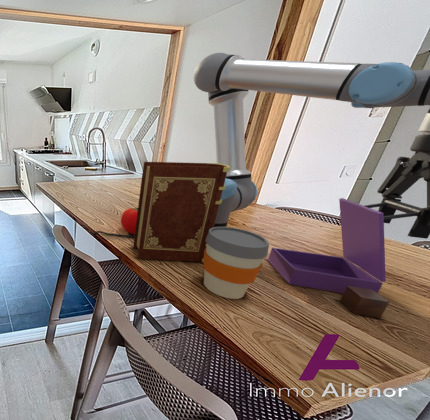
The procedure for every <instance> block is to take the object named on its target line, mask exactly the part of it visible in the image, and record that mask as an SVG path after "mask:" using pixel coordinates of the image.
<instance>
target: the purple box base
mask: <svg viewBox="0 0 430 420" xmlns="http://www.w3.org/2000/svg"><path fill="white" fill-rule="evenodd" d="M267 261H268V262H269V263H270V265H271V266H272V267H273V268H274V269H275V270H276V271H277V272H278V273H279V274H280V276H281V277H282V278H283V279H284V280H285V281H286V283H288V284H289V285H294V286H299V287H303V288H304V287H305V288H310V289H316V290H320V291H321V290H322V291H328V292H333V293H339V294H344V292H345V290H346V287H347V286H352V287H358V288H364V289H370V290H373V291H375V292H376V293H377V294H379V291H380V290H381V288H382V286H383V284H384V282H381V281H380V280H378V279H377V278H375V277H374V276H372V275H371V274H369V273H368V272H366V271H365V270H363V269H362V268H360V267H359V266H357V265H356V264H354V263H353V262H351V261H349V260H348V259H346V258H345V257H343V256H335V255H329V254H321V253H313V252H306V251H299V250H293V249H286V248H285V249H284V248H278V247H271V249H270V252H269V256H268V259H267Z"/></svg>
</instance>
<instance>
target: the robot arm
mask: <svg viewBox="0 0 430 420" xmlns="http://www.w3.org/2000/svg"><path fill="white" fill-rule="evenodd" d="M193 82H194V85H195V86H196V88H197V89H198V90H200V91H201V92H205V93H207V97H208V104H209V105H211V106H212V107H213V119H214V120H213V121H214V138H215V139H214V140H215V155H216V156H215V157H216V163H218V164H224V165H228V166H230V170H229V172H227V175H226V179H225V183H224V185H225V190H223V191H222V195H221V200H222V202H221V204H219V208H218V212H217V216H216V220H215V224H214V227H228V222H229V220H230V215H231V213H233V212H236V211H240V210H244V209H246V208H247V207H249V206H250V205H252V204H253V203H254V201H255V200H256V198H257V197H258V188H257V185H256V184H255V183H254V181H253V179H252V178H253V177H252V172H251V171H250V170H248V169H247V167H246V144H245V143H246V142H245V140H246V139H245V117H244V116H245V115H244V99H245V98H246V97H247V96H248V95H249V91H252V92H253V91H254V92H262V93H269V94H270V93H271V94H278V95H279V94H280V95H288V96H295V97H296V96H297V97H305V98H313V99H314V98H315V99H323V100H332V101H340V102H347V103H351V104H350V105H351V107H352V108H355V109H375V108H376V109H377V108H397V107H416V106H417V107H425V106H430V68H428V69H418V70H417V69H416V70H412V68H411V67H410V66H409V65H407V64H405V63H402V62H394V61H386V62H381V63H380V62H379V63H360V62H334V61H309V60H308V61H306V60H279V59H277V60H276V59H250V58H249V59H247V58H243V57H242V56H241V55H239V54H229V53H225V52H214V53H211V54H209V55H207V56H205V57H204V58H203V59H201V61H200V62H199V63H198V65H197V66H196V67H195V69H194V73H193ZM417 132H419V133H421V134H418V135H416V136H415V137H414V139H413V141H412V143H411V145H410V147H409V150H410V151H411V152H414V153H413V154H412V156H398V157H397V159H396V161H395V163H394V166H393V167H392V169H391V170H390V172H389V173H388V175H387V176H386V177H385V179H384V181H383V182H382V183H381V185H380V186H379V188H378V189H377V191H376V192H377V193H378V194H381V197H382V200H381V202H380V203H384V202H385V201H386V200H388V199H393V200H396V201H399V202H402V199H403V196H402V195H403V194H404V193H406V192H407V191H408V190H409V189H410V188H411V187H412V186H413V185H414V184H415V183H416V182H418V181H419V180H420V179H423V181H424V182H426V207H421V208H422V209H421V211H420V213H419V215H418V217H417V216H416V218H415V220H414V223H413V224H412V226H411V228H410V230H409V232H408V233H407V236H408V237H410V238H417V239H425V240H427V239H429V237H430V108H429V109H428V110H427V113H426V114H425V116H424V118H423V120H422V122H421V124H420V126H419V128H418V130H417ZM377 211H379V212H382V213H383V214H384V216H390V215H396V212H397V210H396V209H393V208H390V207H387V206H381V207H378V210H377ZM392 220H393V219H388V220H384V224H389V225H390V223H391V222H392ZM96 234H103V235H107V236H115V237H124V238H125V237H126V238H134V236H135V235H134V234H129V235H128V234H121V233H111V232H105V231H102V230H96V231H94V232H92V235H96Z"/></svg>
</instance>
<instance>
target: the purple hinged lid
mask: <svg viewBox="0 0 430 420" xmlns="http://www.w3.org/2000/svg"><path fill="white" fill-rule="evenodd" d="M338 200H339V215H340V227H341V229H340V231H341V243H342V255H343V256H342V257H343V258H346V259H347V260H349V261H350V262H352V263H353V264H355V265H356V266H358V267H359V268H361V269H362V270H364V271H365V272H367V273H368V274H370V275H371V276H373V277H374V278H376V279H377V280H378V281H380V282H381V283H386V281H387V277H386V249H385V248H386V247H385V246H386V245H385V223H384V220H388V219H392V220H396V219H403V218H410V217H416V218H417V217H418V215H419V213H420V211H421V209H422V208H423V207H419V206H417V205H413V204H410V203H406V202H402V201H401V202H399V201H396V200H393V199H388V200H386V201H385V202H384V203H381V202H378V203H372V204H366V205H363V204H360V203H357V202H354V201H351V200H348V199H347V198H343V197H339V199H338ZM381 206H387V207H390V208H393V209H396V211H399V212H402V213H399V214H398V213H397V214H394V215H390V216H384V214H383V213H382V212H379V211H378V210H376V209H373V208H379V207H381Z"/></svg>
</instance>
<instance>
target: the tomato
mask: <svg viewBox="0 0 430 420" xmlns="http://www.w3.org/2000/svg"><path fill="white" fill-rule="evenodd" d="M137 212H138V207H133V208H132V207H128V208H127V209H125V210H124V211H123V212H122V214H121V216H120V224H121V227H122V228H123V229H124V230H125V232H127V233H128V234H129V235H135V228H136V220H137Z"/></svg>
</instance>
